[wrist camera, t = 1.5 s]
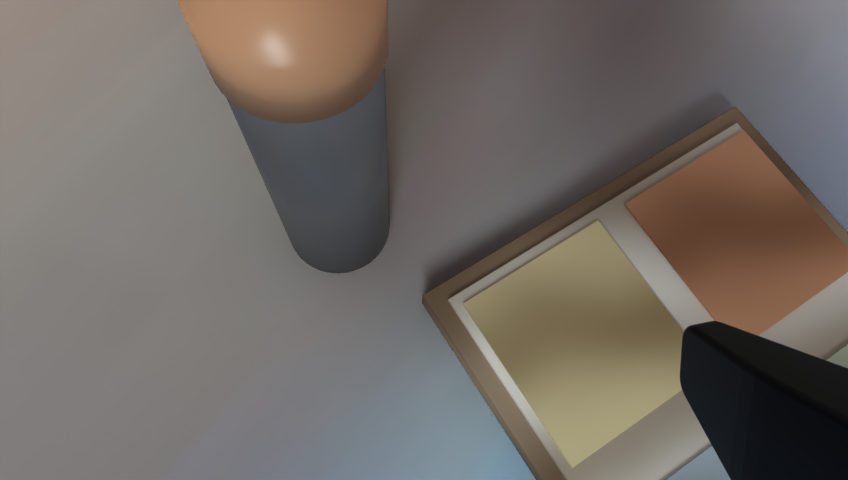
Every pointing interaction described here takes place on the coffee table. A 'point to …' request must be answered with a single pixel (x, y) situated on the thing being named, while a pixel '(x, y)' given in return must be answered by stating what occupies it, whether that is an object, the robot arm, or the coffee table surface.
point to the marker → (308, 113)
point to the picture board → (645, 304)
